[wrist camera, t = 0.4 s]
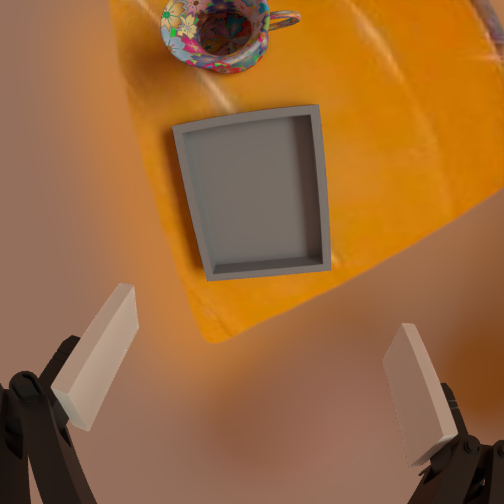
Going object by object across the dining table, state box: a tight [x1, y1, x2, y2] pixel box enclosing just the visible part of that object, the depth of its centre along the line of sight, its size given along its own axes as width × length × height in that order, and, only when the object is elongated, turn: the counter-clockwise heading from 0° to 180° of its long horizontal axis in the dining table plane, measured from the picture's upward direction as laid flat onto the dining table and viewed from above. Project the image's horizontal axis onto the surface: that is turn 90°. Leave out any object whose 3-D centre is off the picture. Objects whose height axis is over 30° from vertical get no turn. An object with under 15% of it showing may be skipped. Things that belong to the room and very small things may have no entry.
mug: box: [160, 0, 301, 74], centre depth 24 cm, size 12×9×11 cm
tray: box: [172, 105, 331, 281], centre depth 36 cm, size 20×16×3 cm
